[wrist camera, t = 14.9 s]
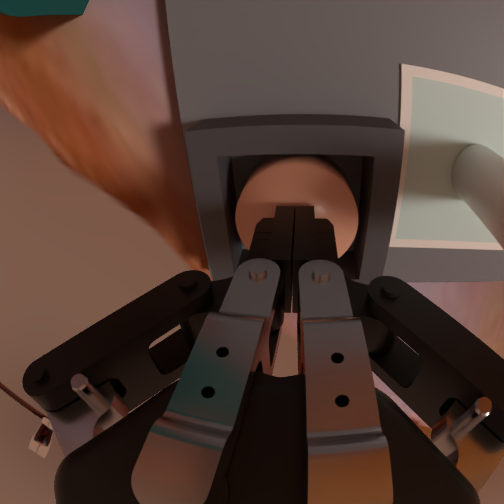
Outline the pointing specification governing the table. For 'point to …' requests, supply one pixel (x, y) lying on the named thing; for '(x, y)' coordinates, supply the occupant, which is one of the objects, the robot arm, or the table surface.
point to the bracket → (42, 7)
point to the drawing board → (346, 119)
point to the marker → (482, 186)
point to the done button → (298, 194)
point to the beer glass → (42, 438)
